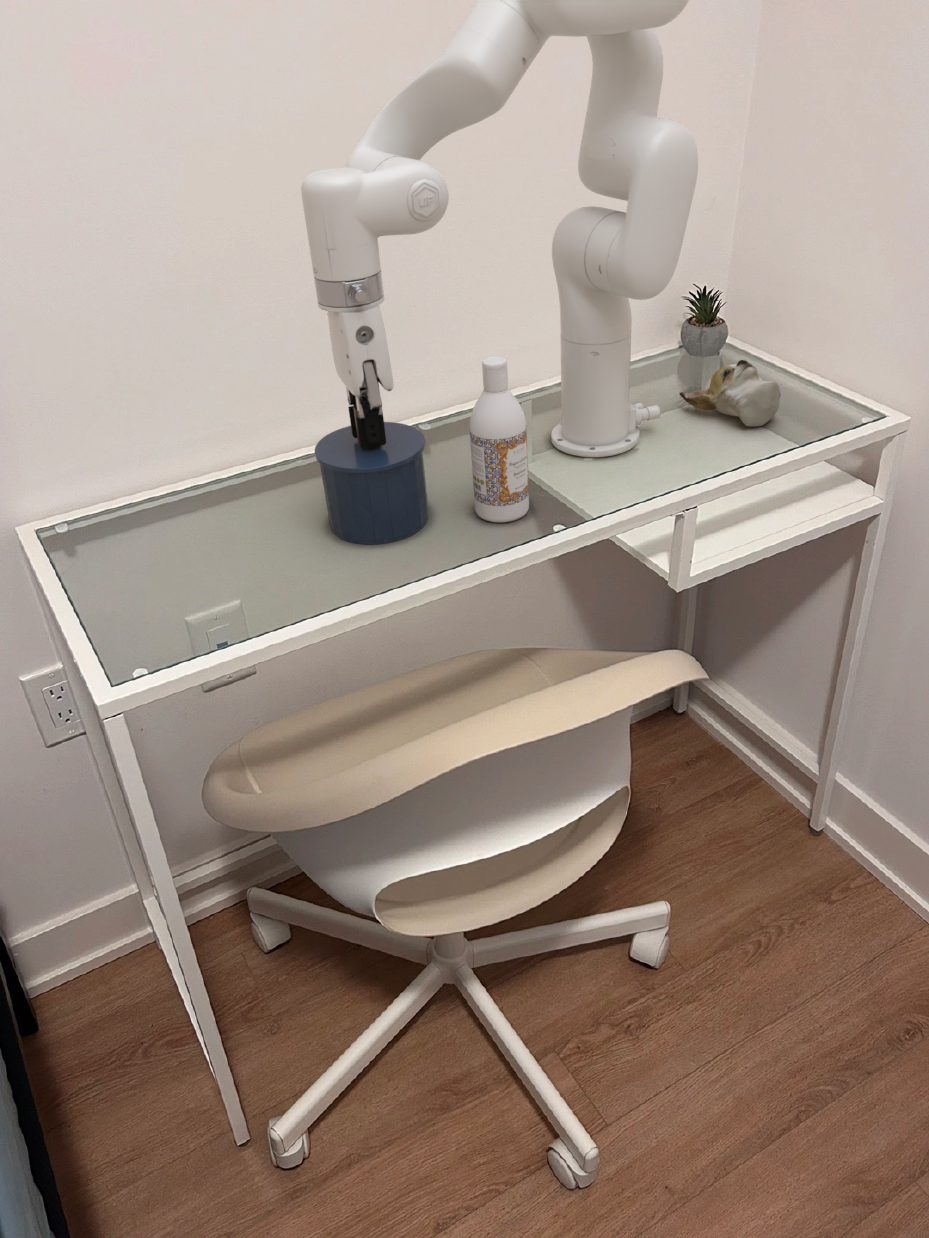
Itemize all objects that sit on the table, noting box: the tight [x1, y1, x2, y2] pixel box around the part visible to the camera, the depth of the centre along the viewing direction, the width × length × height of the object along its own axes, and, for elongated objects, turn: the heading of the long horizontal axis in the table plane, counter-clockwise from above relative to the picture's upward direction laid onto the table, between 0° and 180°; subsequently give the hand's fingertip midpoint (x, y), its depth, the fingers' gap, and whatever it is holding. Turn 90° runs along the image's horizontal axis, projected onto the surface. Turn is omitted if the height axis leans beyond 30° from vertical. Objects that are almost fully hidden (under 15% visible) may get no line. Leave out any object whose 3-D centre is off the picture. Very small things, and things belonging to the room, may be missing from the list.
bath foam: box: [469, 355, 530, 523], centre depth 123 cm, size 7×7×20 cm
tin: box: [319, 451, 429, 546], centre depth 126 cm, size 13×13×10 cm
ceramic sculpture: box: [679, 359, 782, 427], centre depth 147 cm, size 11×9×15 cm
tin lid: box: [314, 402, 426, 473], centre depth 122 cm, size 14×14×6 cm
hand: (369, 439), depth 123 cm, fingers closed on tin lid, 2 cm apart
